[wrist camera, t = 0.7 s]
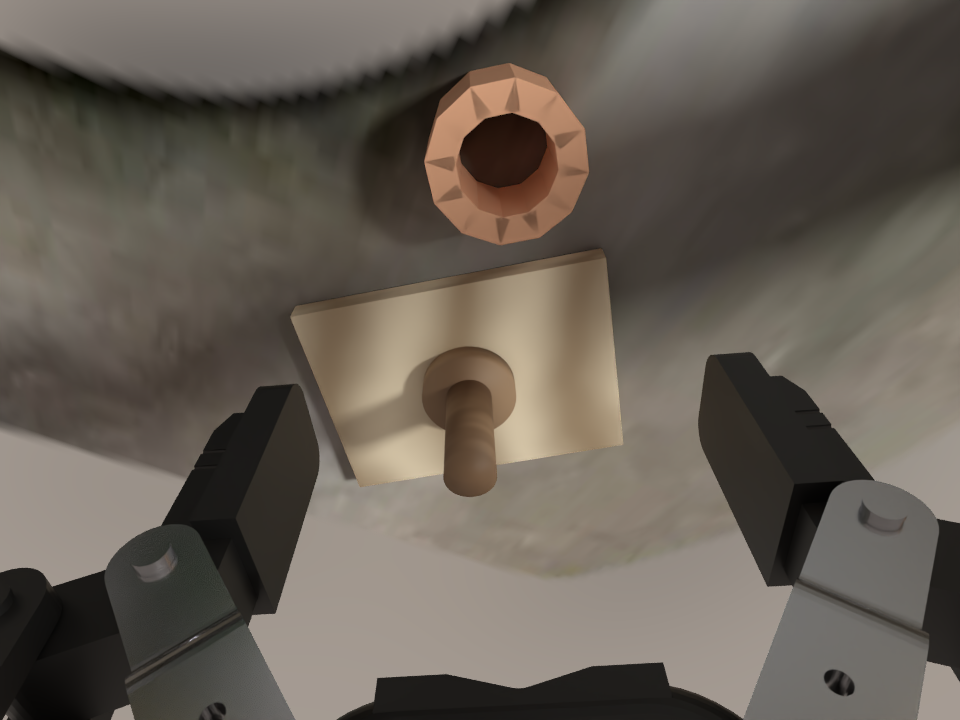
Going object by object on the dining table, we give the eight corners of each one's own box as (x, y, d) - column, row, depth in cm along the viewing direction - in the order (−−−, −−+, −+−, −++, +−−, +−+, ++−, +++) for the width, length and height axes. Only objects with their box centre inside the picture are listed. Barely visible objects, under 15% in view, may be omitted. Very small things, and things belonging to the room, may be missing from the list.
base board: (601, 248, 31) (606, 257, 30) (618, 431, 37) (623, 444, 36) (295, 306, 32) (290, 317, 31) (362, 473, 39) (359, 487, 38)
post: (506, 338, 32) (516, 425, 26) (521, 413, 35) (533, 507, 29) (413, 355, 33) (401, 444, 27) (434, 428, 35) (429, 524, 29)
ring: (563, 51, 26) (578, 63, 23) (579, 197, 30) (594, 227, 26) (415, 83, 27) (409, 100, 23) (448, 223, 30) (446, 255, 27)
